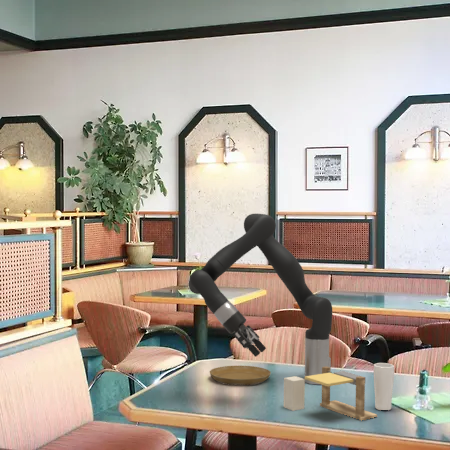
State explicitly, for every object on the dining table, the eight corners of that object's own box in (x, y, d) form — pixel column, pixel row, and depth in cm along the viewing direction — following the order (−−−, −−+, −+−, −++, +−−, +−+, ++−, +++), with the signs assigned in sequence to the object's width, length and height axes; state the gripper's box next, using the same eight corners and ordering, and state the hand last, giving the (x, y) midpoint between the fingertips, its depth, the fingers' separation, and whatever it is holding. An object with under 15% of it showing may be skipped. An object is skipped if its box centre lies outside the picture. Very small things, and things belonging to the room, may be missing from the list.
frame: (335, 403, 250) (335, 364, 250) (377, 417, 233) (377, 376, 233) (319, 405, 246) (320, 366, 246) (361, 421, 230) (362, 378, 229)
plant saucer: (211, 372, 295) (211, 364, 295) (270, 373, 294) (270, 365, 294) (207, 387, 271) (207, 378, 271) (271, 388, 270) (271, 379, 270)
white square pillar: (295, 405, 247) (295, 376, 247) (304, 408, 243) (304, 379, 243) (283, 407, 244) (284, 378, 244) (292, 410, 240) (293, 381, 240)
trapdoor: (342, 376, 246) (342, 370, 246) (366, 383, 236) (366, 377, 236) (304, 382, 236) (304, 376, 236) (327, 390, 227) (327, 383, 227)
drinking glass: (389, 413, 239) (390, 368, 238) (370, 409, 242) (370, 365, 242) (396, 408, 244) (397, 364, 244) (377, 405, 248) (377, 362, 248)
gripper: (231, 312, 242) (264, 349, 239) (242, 307, 256) (273, 342, 253) (216, 327, 244) (248, 363, 241) (228, 321, 257) (258, 355, 254)
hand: (261, 352), depth 247 cm, fingers open, 8 cm apart
